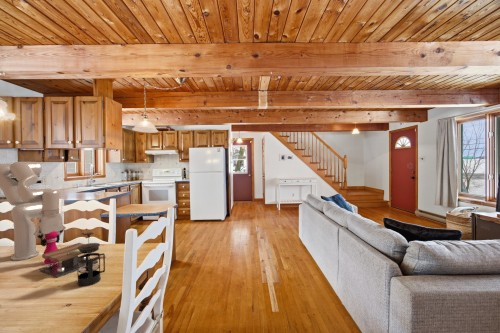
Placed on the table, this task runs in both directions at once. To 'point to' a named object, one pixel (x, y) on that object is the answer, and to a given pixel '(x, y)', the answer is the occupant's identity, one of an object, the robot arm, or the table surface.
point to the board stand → (64, 267)
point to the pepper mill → (50, 245)
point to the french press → (89, 264)
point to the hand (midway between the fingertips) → (50, 243)
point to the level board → (63, 253)
